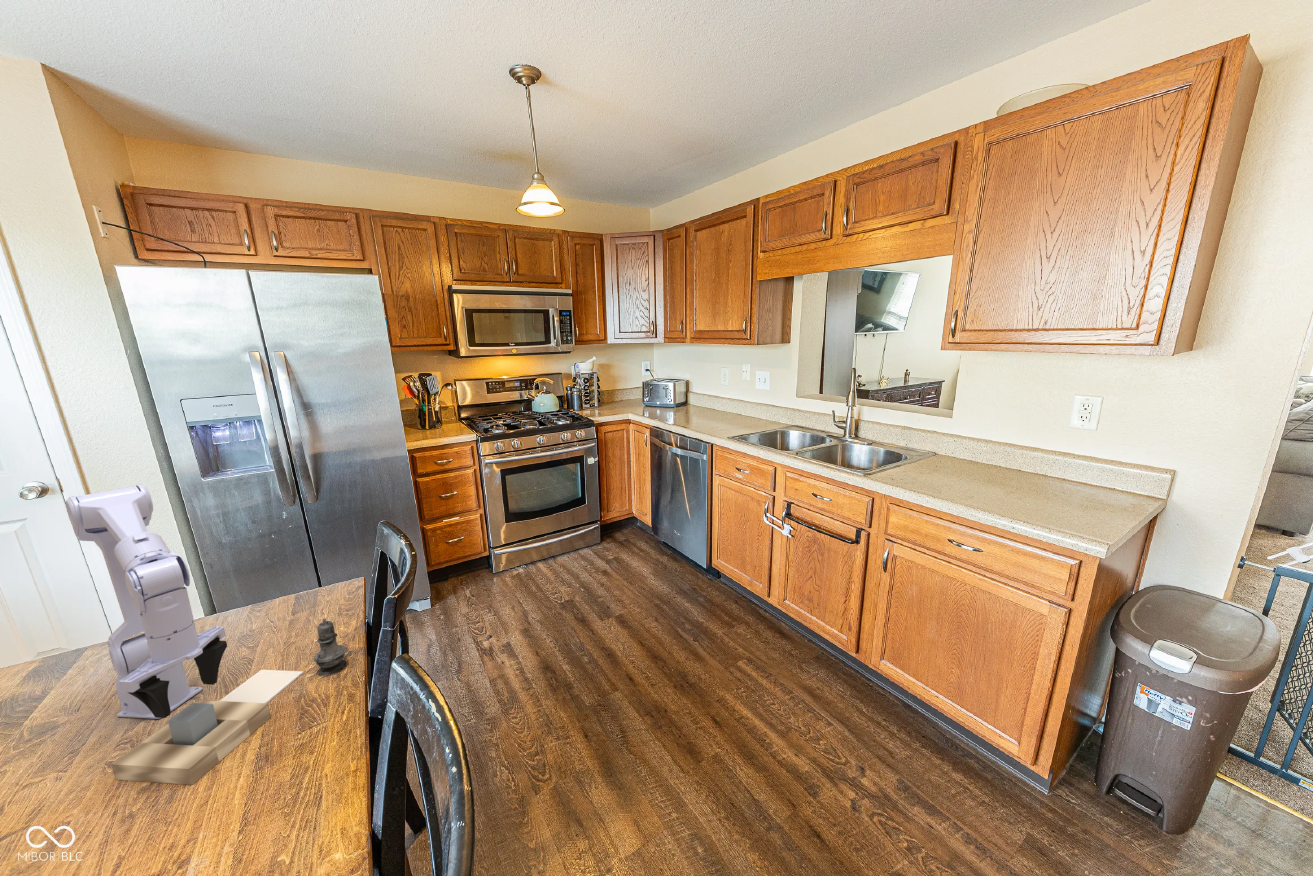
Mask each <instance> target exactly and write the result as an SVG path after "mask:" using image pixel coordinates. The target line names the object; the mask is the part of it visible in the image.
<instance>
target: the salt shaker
mask: <svg viewBox="0 0 1313 876" xmlns="http://www.w3.org/2000/svg"><path fill="white" fill-rule="evenodd" d="M317 635H318V638H317V643H318V644H319V648H320V649H319V650H320V651H318V652H317V653H316V654H315V655H314V657H313V662H315V663H316V665H317V666H318V667H319V669H318V671H317V674H318V676H320V677H326V676H327V677H328V676H332V675H335V674H337V673H340V672H341V671H342V670H344V669H345V668H346V666H347V664H348V661H346V660H345V659H344V657H345V654H346V650H347V647H346V646H345V645H342V644H338V641H337V637H338V634H337V632H335V626H334V622H333V621H331V620H327V618H323V619H322V622H321V623H319V624H318V625H317Z"/></svg>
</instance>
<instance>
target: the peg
mask: <svg viewBox="0 0 1313 876" xmlns="http://www.w3.org/2000/svg"><path fill="white" fill-rule="evenodd" d="M167 722H168V723H167V724H169V727H170V731H171V735H172V739H173V743H174V745H191V746H193V745H194V744H196V743H197V742H198V741H199V740H201V739H202V738H203V737H205V736H206V735H207V734H208V733H210V732H211V731H212V730H213V729H215V728H216V727H217V726H218V723H217V719H216V715H215V710H214V706H213V704H205V703H198V702H192V703H190V704H189V705H188V706H186V707H185V708H183V709H182V710H181V711H179V712H178V713H176V714H175V715H173V716H172V717H171V718H169V719H168V720H167Z"/></svg>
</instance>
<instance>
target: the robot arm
mask: <svg viewBox="0 0 1313 876" xmlns="http://www.w3.org/2000/svg"><path fill="white" fill-rule="evenodd" d="M151 496H152V495H151V494H150V492H149V490H148V488H147V487H146V486H144V485H143V484H136V485H134V486H129V487H122V488H116V489H111V490H105V491H100V492H99V491H98V492H94V493H90V494H84V495H83V494H82V495H78V496H75V495H74V496H69V497H68V498H67V499H66V501H65V507H66V512H67V515H68V518H69V522H70V524H71V526H72V529H73V532H74V535H75V537H77V538H78V541H82V542H93V543H95V545H96V546H97V547H98V549H100V550H101V552H102V555H103V559H104V562H105V564H106V568H107V571H108V573H109V577H110V580H111V583H112V587H113V589H114V590H113V591H114V593H115V596H116V600H117V602H118V606H119V608H120V611H121V615H122V617H123V622H122V623H121V624H120V626H118V628H116V629H115V630H114V631H113V632H111V634H110V636H108V640H107V647H108V653H109V657H110V658H109V659H110V660H111V663H112V667H113V670H114V671H115V673H116V675H117V677H116V679H115V688H116V692H117V696H118V699H119V703H120V708H121V711H119V712H118V713H117V714H116V716H117V717H118V718H119V717H121V718H136V719H138V718H139V719H154V720H155V719H157V720H159V719H166V718H168V717H169V716H171V712H172V711H174V710H175V709H177V708H178V707H179V706H181V705H182V704H184V703H185V702H187V701H188V700H190V699H191V698H193V697H194V696H196V695H197V694H199V693H200V692H202V691H203V687H200V686H190V685H189V682H188V677H187V674H186V669H185V666H184V662H185V661H186V660H194V663H195V664H196V666H197V669H198V674H199V677H200V680H201V683H202V684H203V685H210V686H211V685H215V684H217V682H218V677H219V669H220V665H221V661H222V658H223V655H224V653H225V651H226V650H227V648H228V642H227V641H226V640H221V639H224V638H225V637H227V633H226V630H225V627H224V626H212V627H211V628H209V629H207V630H205V631H203V632H201V633H198V631H197V628H196V624H195V620H194V619H195V618H194V614H193V610H192V606H191V602H190V597H189V593H188V588H187V587H190V584H191V578H190V570H189V569H188V565H187V563H186V562H185V560H184V558H183V557H182V555H181V554H179V553H177V552H176V551H173V552H171V550H170V548H169V547H168V546H167V544H166V542H165V540H164V539H163V537H162V536H161V535H159V533H156V532H151V531H148V529H147V527H148V526H149V525H150V521H151V520H152V516H153V511H154V503H153V500H152V497H151ZM185 586H186V587H185ZM138 634H140V635H138ZM135 635H137V636H135ZM133 636H134V637H133ZM130 637H131V638H130Z"/></svg>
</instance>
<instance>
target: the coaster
mask: <svg viewBox="0 0 1313 876" xmlns="http://www.w3.org/2000/svg"><path fill="white" fill-rule="evenodd" d="M304 673H305V672H304V670H303V671H302V670H300V671H299V670H280V669H279V670H276V669H275V670H274V669H260V670H259V671H257V673H255V674H253V675H252V676H251V677H249V678H248V679H247V680H245V681H244V682H243V683H241V684H240V685H238V686H237V687H236V688H235V689H233V690H232V691H230V692H229V693H228V694H226V695H225V696H224V697H222V698H221V699H219V701H230V702H250V703H268V704H269V703H270V702H271V701H272V700H273V699H275V698H276V697H277V696H278V695H279V694H280V693H282V692H283V691H284V690H285V689H286V688H288V687H289V686H290V685H291V684H293V683H294V682H295V681H296V680H298V678H300V677H301V676H302V675H303V674H304Z"/></svg>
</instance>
